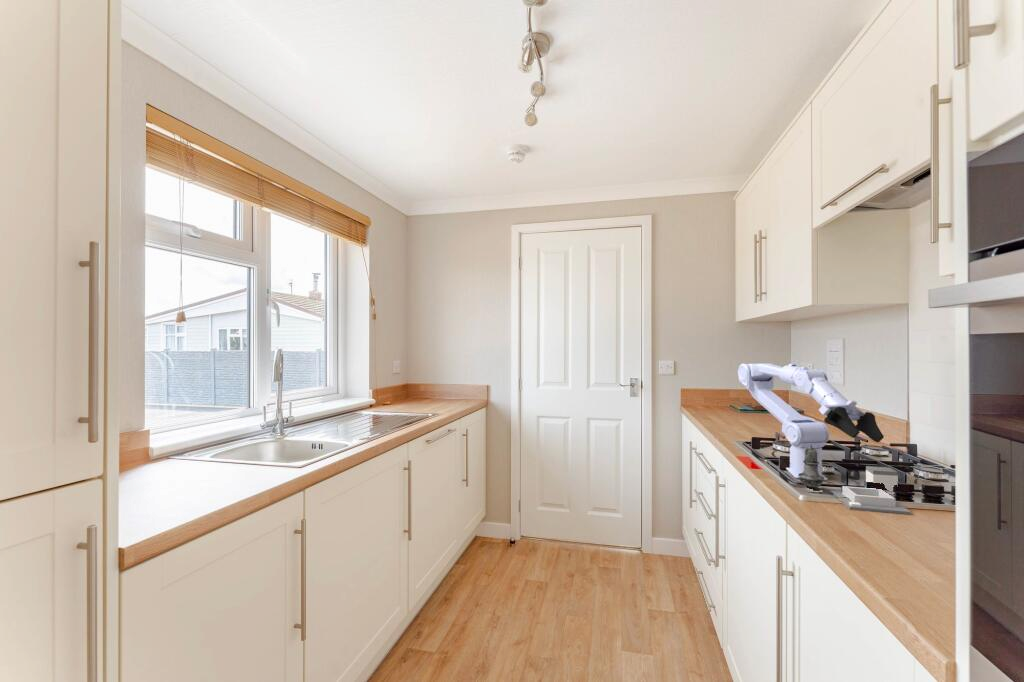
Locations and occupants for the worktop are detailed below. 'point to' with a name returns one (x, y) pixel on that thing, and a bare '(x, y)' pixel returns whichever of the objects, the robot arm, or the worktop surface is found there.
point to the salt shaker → (811, 470)
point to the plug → (882, 476)
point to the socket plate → (870, 500)
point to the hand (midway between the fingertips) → (868, 437)
